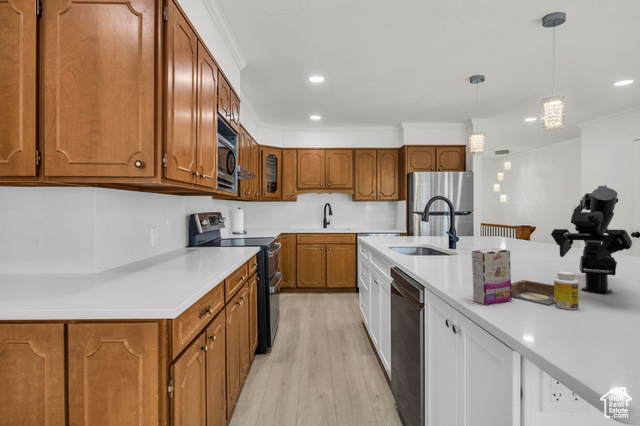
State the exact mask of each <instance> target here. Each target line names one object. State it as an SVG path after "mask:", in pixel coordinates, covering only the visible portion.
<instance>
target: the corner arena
mask: <svg viewBox="0 0 640 426" xmlns="http://www.w3.org/2000/svg"><path fill="white" fill-rule="evenodd" d="M511 299H517V300H521V301H527V302H529V303H535V304H540V305H544V306H548V307H549V306H553V305H555V304H554V284H550V283H545V282H544V283H542V282H537V281H530V280H525V279H522V280H519V281H514V282H511Z"/></svg>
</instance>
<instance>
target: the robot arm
mask: <svg viewBox="0 0 640 426" xmlns="http://www.w3.org/2000/svg"><path fill="white" fill-rule="evenodd" d="M617 197H618V192H617V191H616V190H615V189H613V188H610V187H608V186H607V185H598V186H597V188H596V189H594V190H593V191H592V192H591V193H590V192H589V193H585V194H584V195H583V196H582V197H581V198H582V199H580V200H579V204H578V205H577V206H576V207H575V208H574V209H573V211H572V215H571V218H570V223H571V224H573V225H574V226H575V228H574V230H575V231H576V232H570V230H568V228H567V229H566V228H565V229H563V228H561V229H559V228H554V229H552V232H551V233H550V235H551V237H552V239H553V240H554V241H555V244H556V245H558V246H559V256H560V258H563V257H564V256H566V255H567V254H568V252H569V251H570V250H571V249H572V245H573V244H574V241H583V243H584V247H583V250H582V255H581V256H580V261H579V272H580V273H581V274H584V275H585V287H581V291H585V292H591V293H596V294H603V295H607V294H609V293H612V292H613V291H612V289H610V288H609V286H608V282H609V281H608V277H609V276H615V275H616V273H617V271H616V270H617V264H618V262H617V261H616V260H615V257H612V254H614V253H617V252H621V251H624V250H629V249H631V248H632V245H633V241H632V239H631V237H630V236H629V233H628V231H627V230H625V229H608V227H609V225H610V224H611V221H612V219H613V218H614V216H615V213H614V210H615V208H616V204H617V203H619V198H617ZM583 210H585V211H583Z"/></svg>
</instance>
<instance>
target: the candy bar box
mask: <svg viewBox="0 0 640 426" xmlns="http://www.w3.org/2000/svg"><path fill="white" fill-rule="evenodd" d="M471 265H472V293H473V294H472V296H473V297H472V300H473V302H475V303H478V304H480V305H484V306H489V305H496V304H500V303H506V302H511V301H512V299H513V298H512V297H511V283H512V278H511V277H512V275H511V271H512V270H511V249H507V248H506V249H505V248H490V249H489V248H488V249H477V250H472V251H471Z"/></svg>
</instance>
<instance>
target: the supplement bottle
mask: <svg viewBox="0 0 640 426" xmlns="http://www.w3.org/2000/svg"><path fill="white" fill-rule="evenodd" d="M553 283H554V284H553V285H554V304H553V305H554V306H555V307H557V308H559V309H562V310H569V311H574V310H578V309H579V305H580V304H579V281H578V280H577V279H576V273H574V272H569V271H557V277H556V278H555V277H554V281H553Z"/></svg>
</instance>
